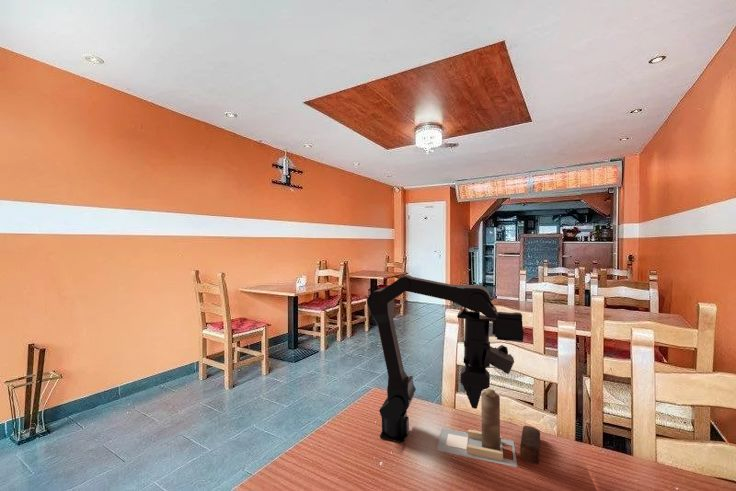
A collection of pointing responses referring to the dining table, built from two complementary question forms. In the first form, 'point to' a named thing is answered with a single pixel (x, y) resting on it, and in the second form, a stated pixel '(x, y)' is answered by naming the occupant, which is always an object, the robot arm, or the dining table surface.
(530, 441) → the brick
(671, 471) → the dining table surface
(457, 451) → the board
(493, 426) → the pepper mill
